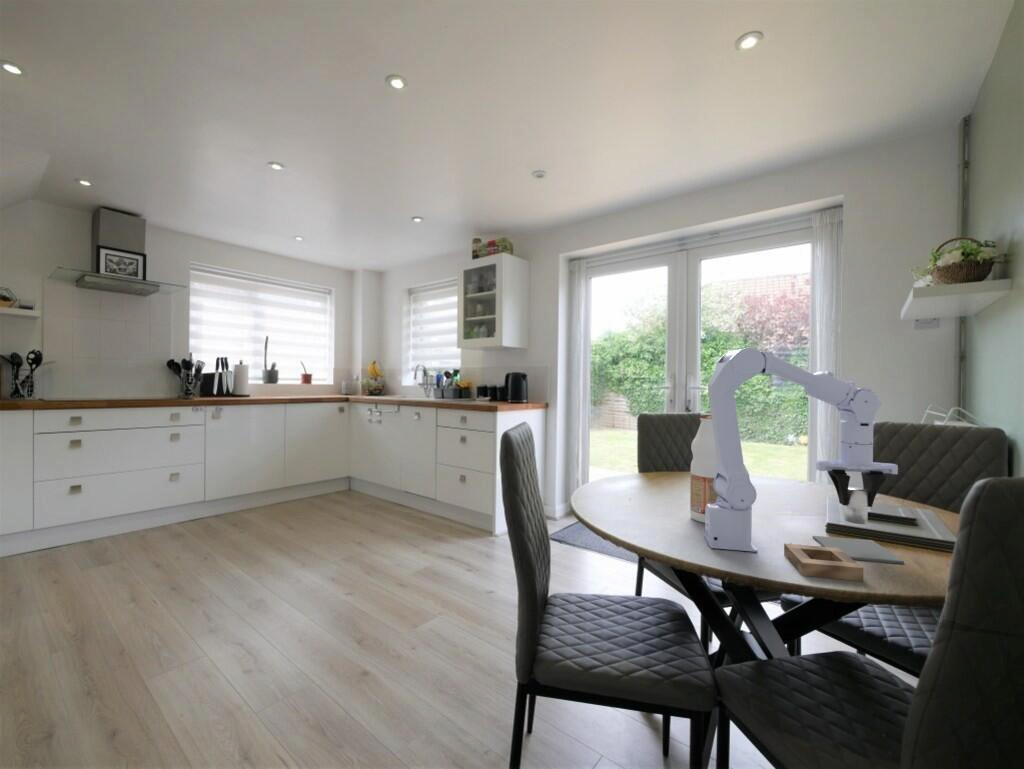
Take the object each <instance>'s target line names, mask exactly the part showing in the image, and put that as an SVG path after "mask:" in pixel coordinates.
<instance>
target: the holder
mask: <svg viewBox="0 0 1024 769" xmlns="http://www.w3.org/2000/svg"><path fill="white" fill-rule="evenodd" d="M783 549H784V550H783V553H784V554H783V556H784V557H785V558H786V559H787V560H788V561H789V562H790V564H792V566H793V567H794V568H795V569H796V570H797V572H798V573H799V574H800V573H801V574H802V575H805V576H804V577H813V578H824V579H833V580H834V579H835V580H844V581H845V580H846V581H857V582H864V567H863V566H862V565H861V564H859V563H858V562H857V561H856V560H854V559H852V558H850V557H849V556H848V555H847V554H845V553H844V552H843V551H842V550H840V549H839V548H834V547H823V546H821V545H820V546H818V545H809V544H808V545H806V544H795V543H784V544H783ZM801 574H800V575H801ZM802 575H801V576H802Z"/></svg>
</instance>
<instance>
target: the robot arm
mask: <svg viewBox="0 0 1024 769" xmlns="http://www.w3.org/2000/svg"><path fill="white" fill-rule="evenodd" d="M760 374H770V375H771V376H772V375H773V376H775V377H777V378H780V379H784V380H785V381H788V382H791V383H793V384H797V385H798V386H801V387H803V388H804V392H805V393H806V394H807V395H808V396H809V397H811V398H815V399H817V400H819V401H822V402H823V403H825V404H828V405H831V406H834V407H835V408H836V410H837V411H839V412H840V416H839V460H816V461H815V462H816V467H815V468H816V471H820V472H826V471H827V473H828V476H829V477H830V480H831V482H832V483H833V486H834V487H835V488H834V489H835V490H836V493H837V497H838V503H839V504H841V505H842V506H845V505H847V504H848V487H849V484H850V480H851V476H850V475H849V474H847V472H850V473H851V472H852V473H853V472H855V473H861V479H862V487H863V489H866V490H868V508H873V505H874V501H875V498H876V496H877V494H878V492H879V490H880V488H881V487H882V485H884V483H885V482H886V481H887V476H886V475H885V474H891V475H898V472H899V468H898V467H899V466H898V464H895V463H889V462H888V463H886V462H874V421H875V417H876V416H875V415H876V413H877V412H878V411H879V409H880V407H881V405H882V401H880V400H879V397H878V395H877V394H876V393H875V391H873V390H872V389H870V388H866V387H857V386H856V382H853V381H845V380H843V379H841V378H838V377H836V376H835V373H834V372H831V371H827V370H826V371H816V372H814V373H812V372H809V371H807V370H805V369H803V368H801V367H799V366H796V365H795V364H792V363H791V362H788V361H786V360H784V359H782V358H780V357H777V356H776V355H773V354H771V353H769V352H766V351H763V350H762V351H760V350H759V349H757V348H755V347H745V348H741V349H731V350H728V351H727V352H725V353H724V354H723V355H722V356H721V357H720V358H719V359H718V360H717V361H716V365H715V368H714V370H713V373H712V375H711V378H710V379H709V382H708V383H707V384H708V385H707V394H708V401H709V405H710V414H711V415H712V422H713V430H714V437H715V444H716V451H717V459H718V464H717V466H716V468H715V471H716V475H715V479H714V482H713V487H714V490H715V492H716V493H717V494H718V497H717V500H716V503H714V504H706V507H705V523H704V538H705V539H706V542H707V544H708V545H709V547H710V548H711V549H721V550H731V551H744V552H753V553H755V552H756V553H757V552H758V548H757V547H756V546H755V544H754V543H753V542H752V532H753V531H752V530H753V529H752V525H753V524H752V523H753V522H752V518H753V517H752V516H753V514H752V513H753V512H752V511H753V510H752V509H753V505H754V503H755V502H756V500H757V494H758V493H757V491H756V488H755V486H754V485H753V483H752V482H751V479H750V473H749V471H748V469H747V468H746V466H745V463H744V456H743V449H742V443H741V435H740V428H739V421H738V413H737V407H736V400H735V392H736V391H737V390H738V389H739V388H741V386H742V385H743V384H744V383H745V382H747V381H749V380H751V379H753V378H755V377H756V376H758V375H760Z"/></svg>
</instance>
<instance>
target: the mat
mask: <svg viewBox="0 0 1024 769" xmlns="http://www.w3.org/2000/svg"><path fill="white" fill-rule="evenodd" d="M812 539H813V540H815V541H816V542H817V543H818V544H819V545H820V546H821V547H834V548H839V549H840V550H842V551H843V552H844V553H845V554H847V555H848V556H849V557H850V558H852V559H853V560H854V561H865V562H866V561H869V562H876V563H877V562H878V563H880V562H881V563H890V564H891V563H892V564H902V565H904V564H905V561H904V560H903V559H901V558H900V557H898V556H897V555H895V554H894V553H892V552H891V551H889V550H888V549H886V548H885V547H883V546H882V545H880V544H879V543H877V542H875V540H872V539H863V538H861V539H859V538H846V537H834V536H820V535H812Z"/></svg>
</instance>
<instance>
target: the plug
mask: <svg viewBox="0 0 1024 769" xmlns="http://www.w3.org/2000/svg"><path fill="white" fill-rule="evenodd" d="M868 509H869V507H868V490H866V489H863V488H862V487H858V486H857V487H856V486H848V504H847V505H844V512H843V513H844V515H843V520H844V521H845V522H847V523H852V524H857V525H867V524H868V518H869V516H868V515H869V514H868V513H869V512H868V511H869V510H868Z"/></svg>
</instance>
